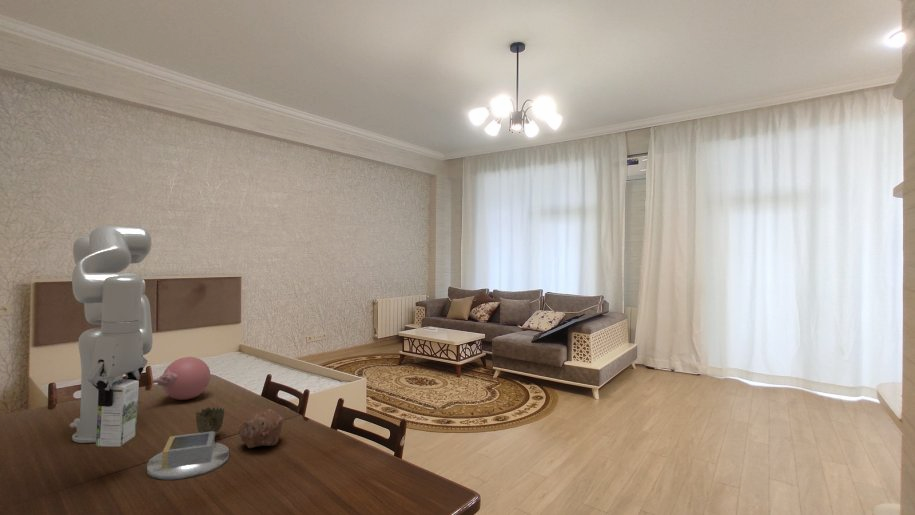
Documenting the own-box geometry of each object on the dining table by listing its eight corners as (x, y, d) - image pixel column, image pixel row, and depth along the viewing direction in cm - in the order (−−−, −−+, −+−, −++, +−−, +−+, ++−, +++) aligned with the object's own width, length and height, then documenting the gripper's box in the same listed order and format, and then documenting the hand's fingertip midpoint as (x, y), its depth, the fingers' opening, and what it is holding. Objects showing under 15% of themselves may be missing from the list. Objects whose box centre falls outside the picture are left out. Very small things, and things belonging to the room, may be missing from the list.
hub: (138, 485, 102) (139, 461, 102) (155, 453, 118) (155, 433, 118) (226, 472, 109) (226, 449, 109) (230, 443, 125) (231, 424, 125)
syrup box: (112, 436, 109) (114, 378, 109) (137, 436, 110) (139, 379, 109) (95, 446, 104) (97, 386, 103) (121, 447, 104) (123, 386, 104)
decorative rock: (268, 456, 118) (269, 419, 118) (228, 454, 119) (229, 417, 119) (290, 436, 132) (291, 403, 132) (253, 434, 132) (254, 401, 132)
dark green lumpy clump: (210, 444, 125) (211, 416, 125) (188, 441, 126) (189, 413, 126) (229, 434, 132) (230, 407, 132) (208, 431, 133) (209, 405, 133)
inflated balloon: (137, 404, 155) (139, 361, 156) (193, 390, 173) (194, 351, 173) (163, 412, 149) (165, 367, 149) (218, 396, 166) (220, 356, 167)
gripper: (136, 320, 115) (133, 388, 116) (72, 332, 98) (69, 412, 98) (162, 322, 114) (160, 390, 115) (103, 335, 97) (100, 415, 98)
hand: (118, 400), depth 107 cm, fingers closed on syrup box, 6 cm apart
